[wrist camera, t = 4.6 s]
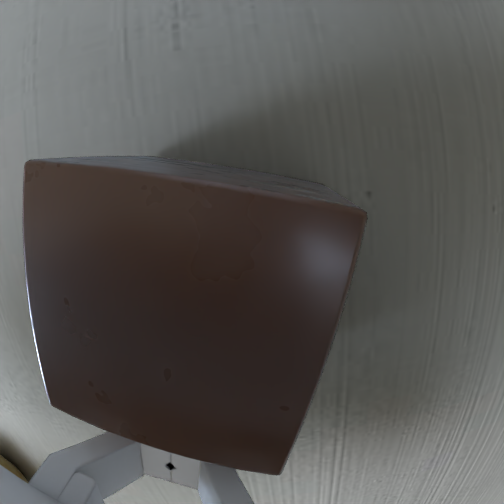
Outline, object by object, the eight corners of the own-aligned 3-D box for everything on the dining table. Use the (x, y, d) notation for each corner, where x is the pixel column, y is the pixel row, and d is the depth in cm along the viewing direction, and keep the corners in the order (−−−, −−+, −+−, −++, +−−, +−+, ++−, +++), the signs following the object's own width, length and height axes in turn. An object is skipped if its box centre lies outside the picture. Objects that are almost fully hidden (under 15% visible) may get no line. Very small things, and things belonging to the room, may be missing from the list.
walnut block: (148, 155, 9) (23, 160, 4) (325, 184, 8) (370, 212, 4) (136, 311, 10) (49, 406, 5) (287, 346, 10) (281, 477, 5)
